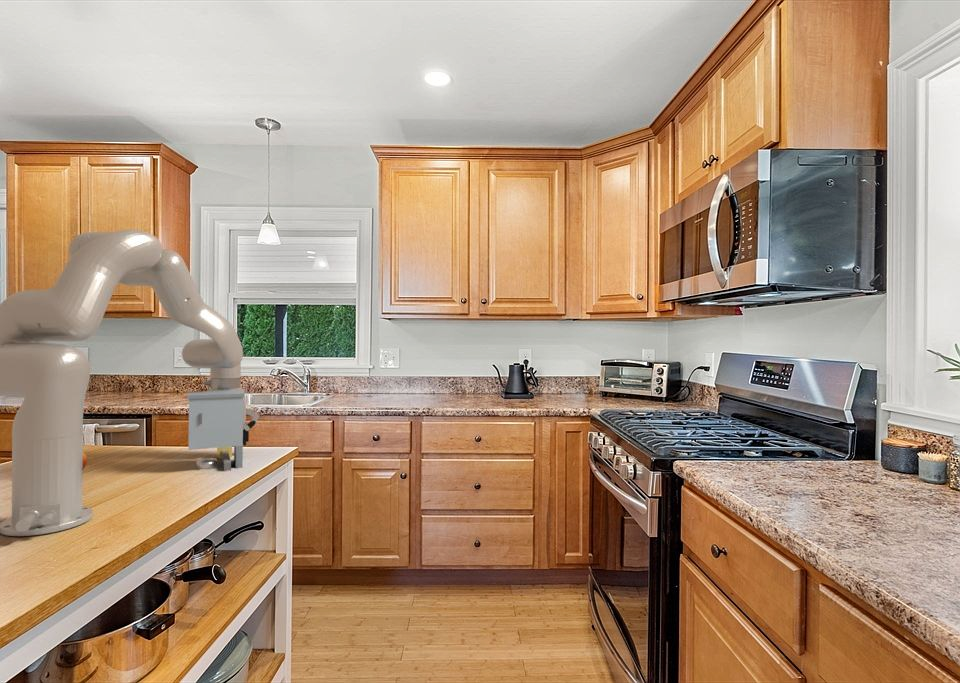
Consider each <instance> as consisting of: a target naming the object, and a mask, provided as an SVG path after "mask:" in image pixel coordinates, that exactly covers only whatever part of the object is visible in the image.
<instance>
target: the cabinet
mask: <svg viewBox="0 0 960 683" xmlns="http://www.w3.org/2000/svg"><path fill="white" fill-rule="evenodd" d="M187 392H188V393H187V400H188V447H187V450H188V451H191V450H192V451H193V450H195V451H196V450H205V449H217V448H220V447H232V448H233V453H234V454H233V462H235V463H234V466H235V468H236V469H238V468H237V467H241V468H243V460H244V459H243V458H244V456H243V454H244V453H243V451H244V450H243V449H244V445H243V430H244V428H243V397H245V398H246V393H245V391H244V392H243V390H230V391H205V390H203V391H187Z"/></svg>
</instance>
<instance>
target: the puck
mask: <svg viewBox="0 0 960 683" xmlns="http://www.w3.org/2000/svg"><path fill="white" fill-rule="evenodd" d="M217 459H218V458H217V457H216V458H215V457H206V458H205V457H204V458H201V459H200V458H199V459H198V460H196V470H200V469H205V470H212V469H215V468H217V467H216V466H217V461H218V460H217ZM211 468H212V469H211Z"/></svg>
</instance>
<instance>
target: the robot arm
mask: <svg viewBox="0 0 960 683" xmlns="http://www.w3.org/2000/svg"><path fill="white" fill-rule="evenodd" d="M68 253H69V258H68V260H67V262H66V264H65V265H64V267H63V268H62V271H61V272H60V273H59V274H60V275H59V276H58V278H57V280H56V282H55V283H54V285H52V287H50V288H48V289H25V290H21V291H17V292H14V293H13V294H11V295H9V296H8V297H6V298H5V299H4V300H3V301H2V302H1V303H0V397H5V398H24V399H23V401H22V403H21V405H20V406H19V409H18V410H17V412H16V414H15V416H14V418H13V422H12V428H11V438H12V440H11V442H12V443H11V447H12V448H11V450H12V451H11V516H10V517H8V518H6V519H5V520H3V521H2V522H1V523H0V534H2V535H4V536H9V537H28V536H39V535H46V534H51V533H56V532H60V531H65V530H68V529H72V528H75V527H78V526H80V525H83V524H85V523H86V522H88V521H89V520H90V519H92V518H93V515H94V514H93V513H94V510H93V509H92V508H91V507H89V506H86V505H83V471H82V460H83V453H84V452H83V440H84V439H83V438H84V431H83V426H84V407H85V405H84V404H85V399H86V394H87V390H88V386H89V382H90V377H91V364H90V361H89V359H88V357H87V355H86V354H84V352H82V351H81V350H79V349H78V348H76V347H74V346H71V345H66V344H62V343H47V342H79V341H80V342H81V341H84V340H88V339H90V338H91V337H93V336H94V335H95V334H96V332H98V329H99V327H100V325H101V323H102V321H103V318H104V315H105V314H106V310H107V308H108V305H109V303H110V300H111V298H112V295H113V293H114V291H115V290H116V287H117V285H118V284H121V285H126V286H132V287H133V286H134V287H135V286H136V287H145V286H146V287H151V288H152V290H153V292H154V294H155V295H156V297H157V300H158V301H159V303H160V305H161V307H162V308H163V310H164V313H165V314H166V316H167V317H168V318H169V319H170V320H172V321H174V322H175V323H178V324H181V325H183V326H185V327H188V328H191V329H194V330H197V331H199V332H201V333H202V334H205V335H206V336H208V337H209V339H207V338H206V339H205V338H204V339H203V338H198V339H193V340H190V341H189V342H187V343H186V344H184V346H183V348H182V351H181V356H182V360H183V361H184V362H185V364H186V365H188V366H190V367H191V368H197V369H210V372H209V373H210V375H209V376H210V377H209V379H208V380H204V381H203V382H204V385H203V386H204V387H209V389H207V391H230V390H243V392H244V393H245V390H244V388H242V387H241V386H242V384H241V381H242V380H241V377H242V375H241V372H242V371H241V370H242V369H241V368H242V366H241V364H242V360H243V357H244V356H243V355H244V351H243V350H244V349H243V345H242V343H241V340H240V338H239V335H238V333H237V331H236V328H235V327H234V326H233V325H232V323H231V322H230V321H229V320H228V319H226V318H225V317H224V316H223V315H222V314H221V313H219V312H218V311H217V310H215V309H214V308H212V307H211V306H209V305H208V304H207V303H205V302H204V301H203V300H204V299H203V298H202V296H201V294H200V291H199V289H198V287H197V285H196V283H195V281H194V279H193V276H192V275H191V273H190V271H189V269H188V266H187V264H186V262H185V261H184V259H183V257H182V256H181V255H180V254H179V253H178V252H176V251H174V250H171V249H163V246H162V243H161V241H160V240H159V238H157V237H156V236H155V235H153V234H151V233H150V232H146V231H144V230H139V229H123V230H118V231H95V232H94V231H92V232H83V233H79V234H78V235H76V236H75V237H73V239H72V240H71V241H70V243H69V246H68ZM44 342H46V343H44ZM246 403H247V402H246V396H245V397H243V447H244V446H247V443H248V442H249V441H250V440H249V438H250V433H249V431H251V429H252V428H253V427H254V426H255V425H256V424H257V421H258V419H259V418H260V414H259V413H258V412H255V411H253V410H250V409H249V408H246V407H247V406H246ZM247 415H248V416H250V417H252V419H251V420H250V421H249V422H248V423H246V420H247Z"/></svg>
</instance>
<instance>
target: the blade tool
mask: <svg viewBox="0 0 960 683" xmlns="http://www.w3.org/2000/svg"><path fill="white" fill-rule="evenodd" d="M216 449H217V450H216V451H217V453H216V454H217V455H216V458H217V459H221V461H222V466H223V467H224V468H223V467H222V468H223V472H228V471H227V470H232V461H231V458H233V447H220V448H216Z"/></svg>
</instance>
